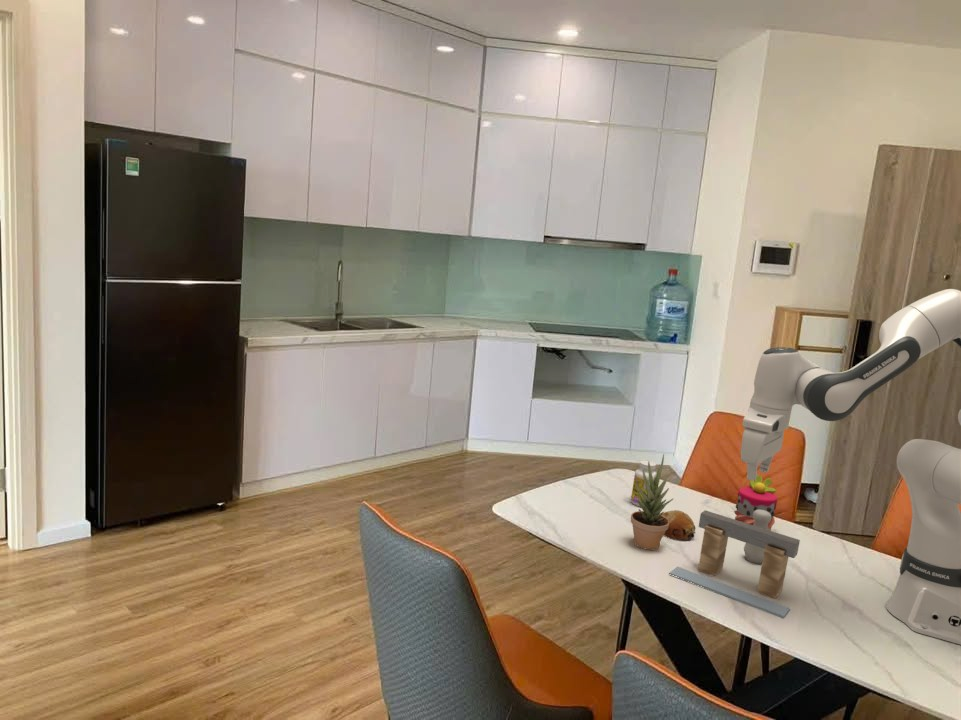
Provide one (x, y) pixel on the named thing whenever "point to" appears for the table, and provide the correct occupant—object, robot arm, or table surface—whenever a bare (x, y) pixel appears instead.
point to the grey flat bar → (732, 592)
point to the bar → (750, 533)
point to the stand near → (772, 572)
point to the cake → (756, 501)
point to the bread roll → (679, 525)
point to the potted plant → (650, 512)
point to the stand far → (712, 551)
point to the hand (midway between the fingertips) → (757, 475)
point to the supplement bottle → (641, 480)
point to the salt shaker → (753, 551)
